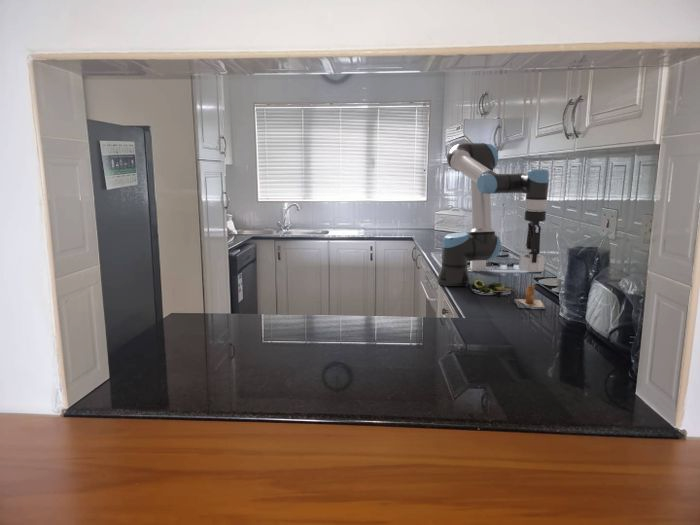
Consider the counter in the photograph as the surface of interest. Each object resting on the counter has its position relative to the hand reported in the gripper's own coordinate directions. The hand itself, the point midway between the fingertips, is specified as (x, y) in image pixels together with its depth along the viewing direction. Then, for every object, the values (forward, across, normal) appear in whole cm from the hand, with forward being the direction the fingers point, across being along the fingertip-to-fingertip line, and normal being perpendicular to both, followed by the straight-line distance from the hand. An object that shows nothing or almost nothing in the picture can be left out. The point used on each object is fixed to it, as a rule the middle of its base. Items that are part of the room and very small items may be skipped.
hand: (531, 268), depth 198 cm
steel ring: (0, 0, 0) cm, 0 cm away
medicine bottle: (+16, +64, +16) cm, 68 cm away
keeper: (+15, 0, 0) cm, 15 cm away
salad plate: (+16, +20, +14) cm, 29 cm away
